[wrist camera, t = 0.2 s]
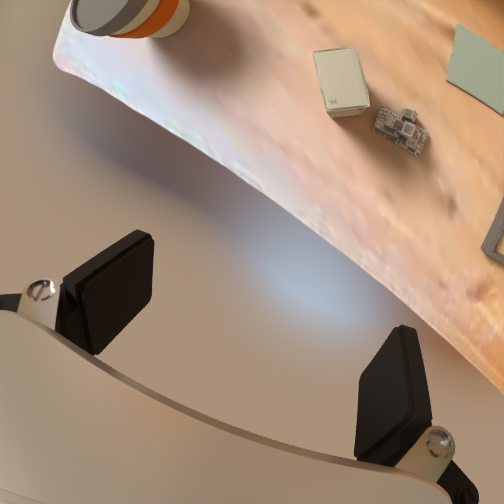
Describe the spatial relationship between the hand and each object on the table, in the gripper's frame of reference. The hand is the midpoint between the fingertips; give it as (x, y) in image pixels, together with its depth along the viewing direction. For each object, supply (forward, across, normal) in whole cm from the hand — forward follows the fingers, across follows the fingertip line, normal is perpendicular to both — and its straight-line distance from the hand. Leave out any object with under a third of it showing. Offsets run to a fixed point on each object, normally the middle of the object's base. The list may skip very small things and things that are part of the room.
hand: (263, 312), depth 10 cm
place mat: (+32, -18, -24) cm, 43 cm away
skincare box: (+32, 0, -11) cm, 34 cm away
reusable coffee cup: (+32, +29, -20) cm, 47 cm away
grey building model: (+32, -10, -11) cm, 35 cm away
